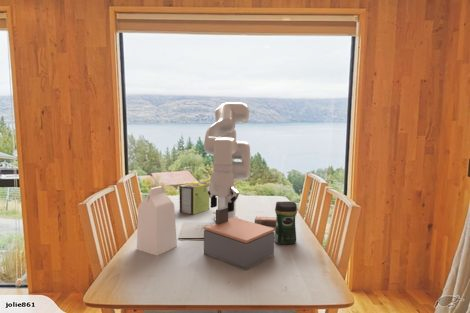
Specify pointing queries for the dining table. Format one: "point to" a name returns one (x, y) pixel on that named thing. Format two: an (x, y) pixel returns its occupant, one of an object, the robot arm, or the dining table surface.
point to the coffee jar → (285, 223)
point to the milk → (156, 223)
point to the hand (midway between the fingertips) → (222, 209)
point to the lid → (237, 227)
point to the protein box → (194, 197)
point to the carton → (239, 249)
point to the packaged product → (266, 221)
